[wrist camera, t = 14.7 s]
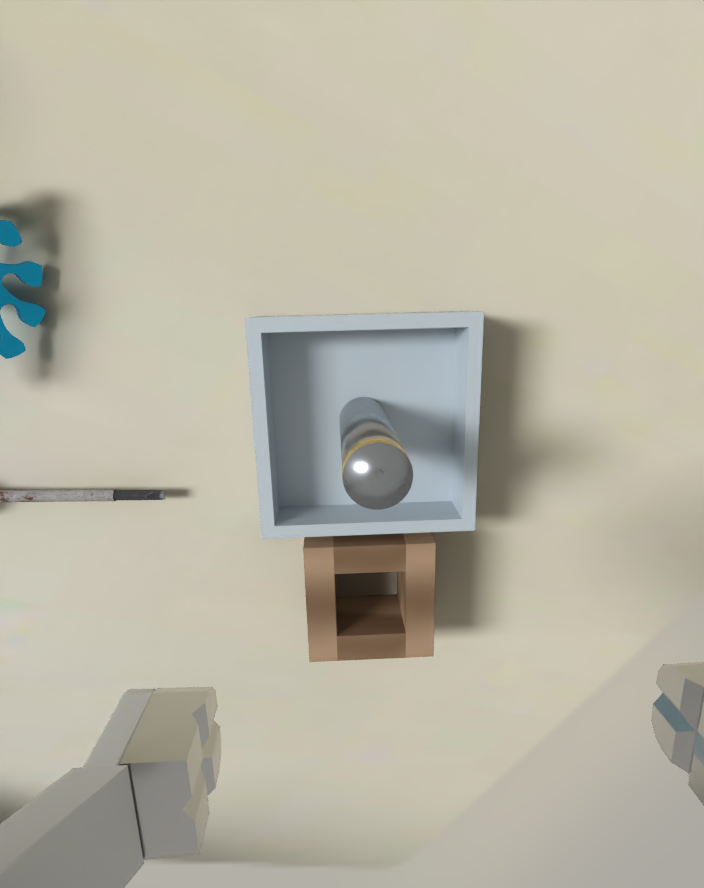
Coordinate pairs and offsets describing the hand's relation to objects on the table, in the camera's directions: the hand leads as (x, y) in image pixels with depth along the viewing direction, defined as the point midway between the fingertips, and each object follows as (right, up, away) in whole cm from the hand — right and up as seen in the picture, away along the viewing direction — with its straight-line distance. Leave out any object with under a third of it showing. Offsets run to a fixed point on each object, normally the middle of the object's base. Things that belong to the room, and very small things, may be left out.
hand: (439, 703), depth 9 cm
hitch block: (-1, -4, +27) cm, 27 cm away
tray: (-1, +7, +24) cm, 25 cm away
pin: (-1, +6, +23) cm, 24 cm away
